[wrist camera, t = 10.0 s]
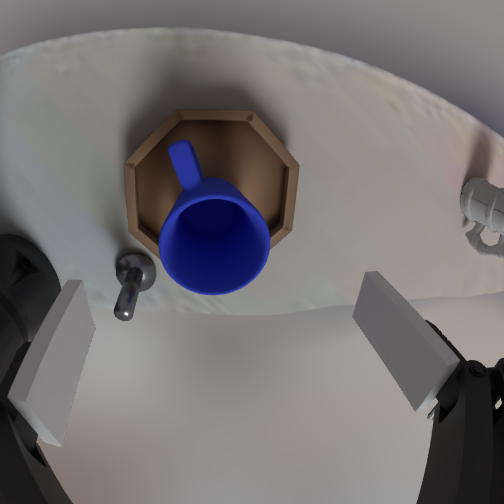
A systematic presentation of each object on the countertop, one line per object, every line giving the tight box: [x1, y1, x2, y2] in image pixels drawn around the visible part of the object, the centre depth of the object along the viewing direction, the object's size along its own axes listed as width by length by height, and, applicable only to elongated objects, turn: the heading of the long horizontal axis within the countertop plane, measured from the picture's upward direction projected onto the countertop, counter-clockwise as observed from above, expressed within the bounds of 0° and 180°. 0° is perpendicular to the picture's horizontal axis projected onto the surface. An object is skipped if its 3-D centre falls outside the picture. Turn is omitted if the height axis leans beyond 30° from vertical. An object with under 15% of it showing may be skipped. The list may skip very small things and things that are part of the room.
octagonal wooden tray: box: [124, 109, 299, 260], centre depth 29 cm, size 17×17×4 cm
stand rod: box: [114, 252, 156, 321], centre depth 30 cm, size 5×5×8 cm
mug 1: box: [159, 139, 270, 295], centre depth 24 cm, size 8×12×10 cm
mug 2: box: [460, 177, 504, 259], centre depth 33 cm, size 8×12×12 cm, turn 174°
